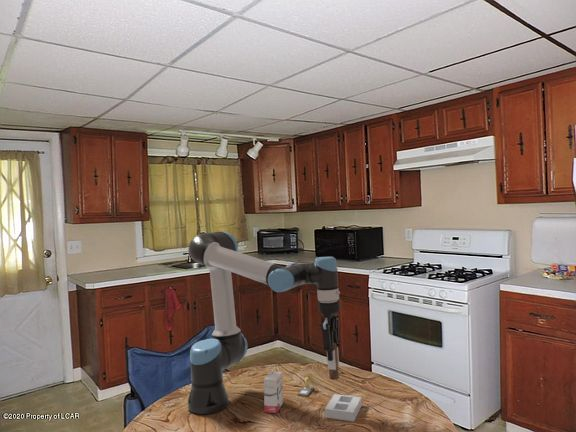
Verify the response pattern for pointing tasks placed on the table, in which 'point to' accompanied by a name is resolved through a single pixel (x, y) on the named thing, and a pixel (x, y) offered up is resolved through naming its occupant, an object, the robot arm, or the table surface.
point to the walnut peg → (335, 373)
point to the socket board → (343, 407)
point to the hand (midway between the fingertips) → (333, 367)
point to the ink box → (273, 392)
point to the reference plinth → (306, 388)
